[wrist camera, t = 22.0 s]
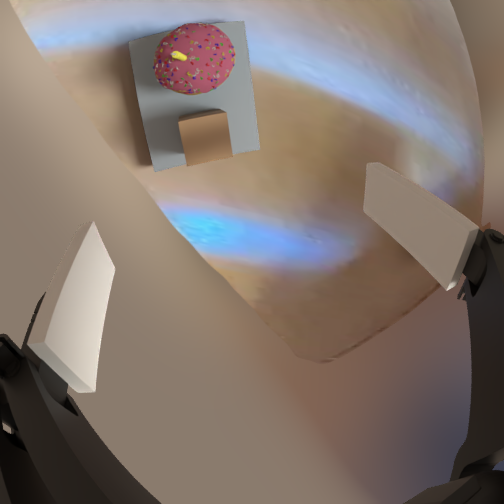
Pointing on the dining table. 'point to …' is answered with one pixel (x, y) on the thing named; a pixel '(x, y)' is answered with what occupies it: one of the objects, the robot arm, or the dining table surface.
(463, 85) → the dining table surface
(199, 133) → the walnut block
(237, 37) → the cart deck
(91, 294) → the robot arm
